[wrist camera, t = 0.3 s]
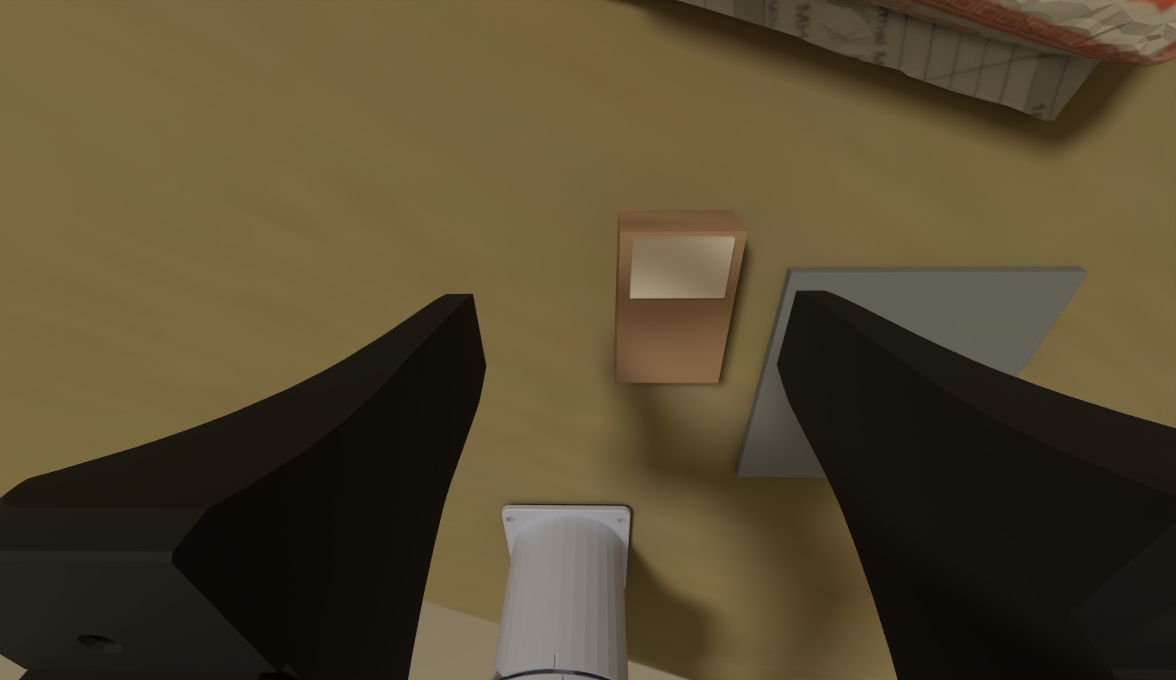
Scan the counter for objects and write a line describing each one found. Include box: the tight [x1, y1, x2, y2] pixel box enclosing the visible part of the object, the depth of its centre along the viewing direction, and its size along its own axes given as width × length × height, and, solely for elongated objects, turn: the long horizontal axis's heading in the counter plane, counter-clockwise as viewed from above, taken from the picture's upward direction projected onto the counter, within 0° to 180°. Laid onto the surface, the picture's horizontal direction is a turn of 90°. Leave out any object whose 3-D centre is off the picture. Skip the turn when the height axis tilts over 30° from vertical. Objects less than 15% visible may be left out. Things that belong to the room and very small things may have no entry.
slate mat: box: [735, 267, 1088, 478], centre depth 23 cm, size 13×12×1 cm
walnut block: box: [614, 210, 748, 383], centre depth 19 cm, size 7×4×3 cm, turn 1°
